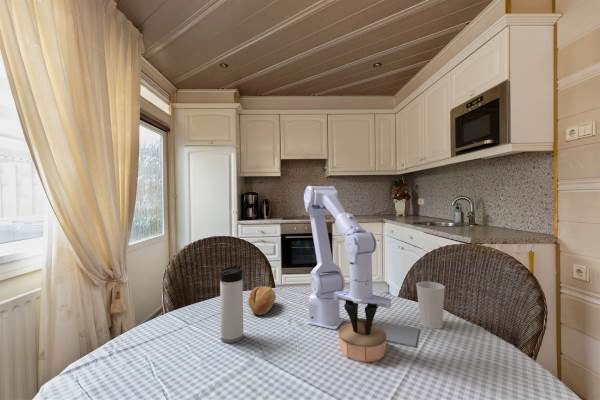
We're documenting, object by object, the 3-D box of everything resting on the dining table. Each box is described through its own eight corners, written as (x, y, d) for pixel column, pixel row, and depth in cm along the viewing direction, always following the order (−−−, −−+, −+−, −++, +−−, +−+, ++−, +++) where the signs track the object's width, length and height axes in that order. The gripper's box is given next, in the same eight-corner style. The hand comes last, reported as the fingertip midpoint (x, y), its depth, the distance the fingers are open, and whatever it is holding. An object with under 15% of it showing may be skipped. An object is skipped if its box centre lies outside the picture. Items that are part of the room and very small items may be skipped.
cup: (449, 330, 79) (448, 289, 80) (420, 328, 81) (419, 288, 81) (441, 319, 87) (440, 282, 87) (414, 317, 89) (413, 281, 89)
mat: (372, 338, 76) (372, 337, 76) (381, 323, 85) (381, 321, 85) (415, 347, 71) (415, 346, 71) (419, 330, 80) (419, 328, 80)
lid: (331, 340, 68) (331, 325, 68) (347, 321, 78) (347, 308, 78) (380, 351, 62) (380, 335, 62) (390, 329, 73) (390, 316, 73)
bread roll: (244, 318, 91) (244, 294, 92) (253, 302, 106) (252, 281, 107) (273, 317, 91) (272, 294, 91) (277, 301, 106) (277, 281, 106)
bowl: (334, 355, 68) (334, 339, 68) (348, 335, 78) (348, 322, 78) (379, 366, 63) (379, 350, 63) (388, 344, 72) (388, 330, 72)
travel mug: (248, 334, 80) (247, 266, 80) (234, 345, 74) (233, 271, 74) (231, 330, 82) (230, 264, 83) (216, 340, 76) (215, 269, 77)
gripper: (329, 279, 70) (330, 332, 70) (386, 286, 63) (388, 344, 63) (338, 273, 77) (339, 321, 76) (392, 278, 70) (393, 332, 69)
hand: (362, 331), depth 70 cm, fingers closed on lid, 3 cm apart
